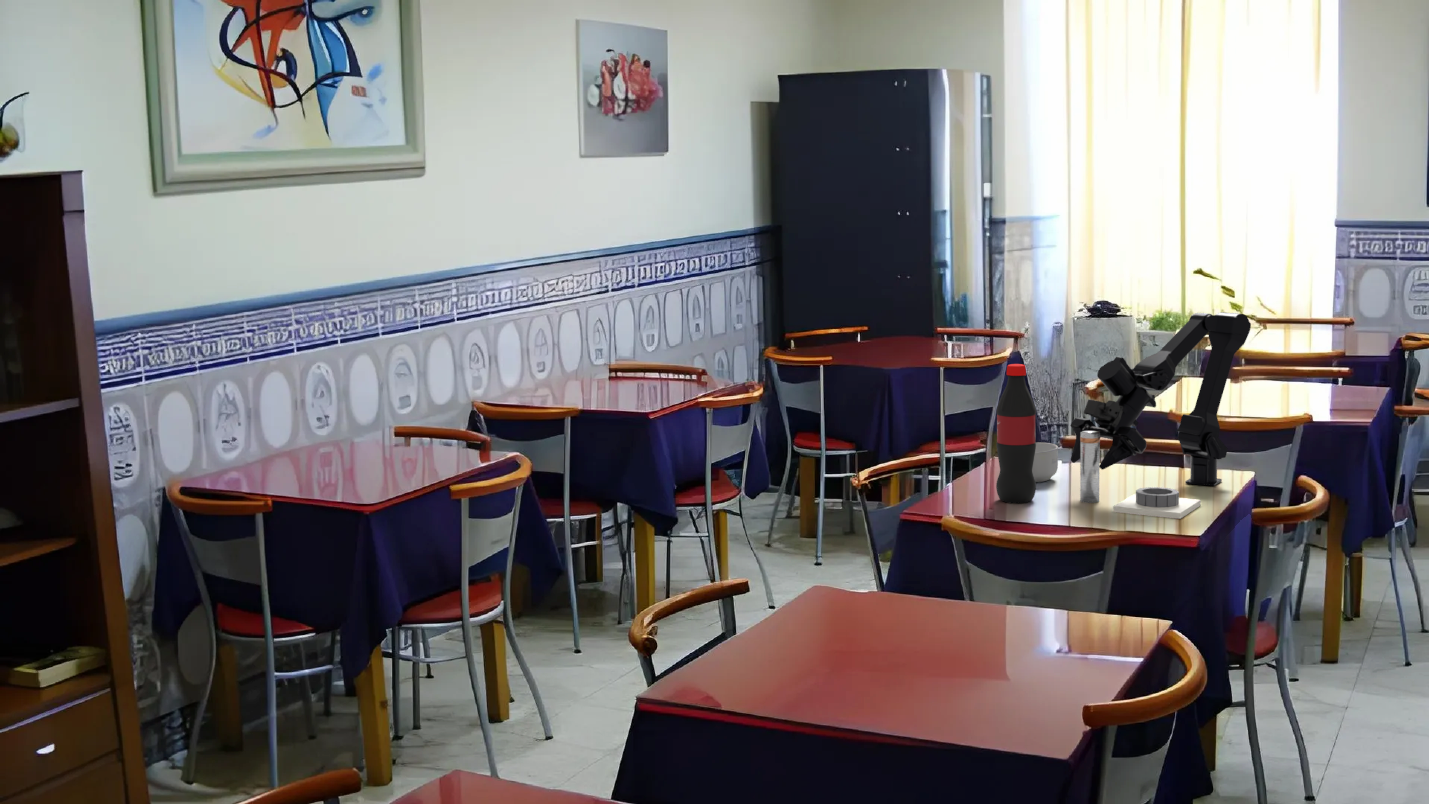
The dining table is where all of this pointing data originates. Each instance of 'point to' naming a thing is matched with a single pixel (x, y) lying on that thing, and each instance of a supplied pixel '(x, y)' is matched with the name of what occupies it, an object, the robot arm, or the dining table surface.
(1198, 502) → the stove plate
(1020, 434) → the cola bottle
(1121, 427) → the robot arm
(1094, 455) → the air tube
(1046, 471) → the teacup
